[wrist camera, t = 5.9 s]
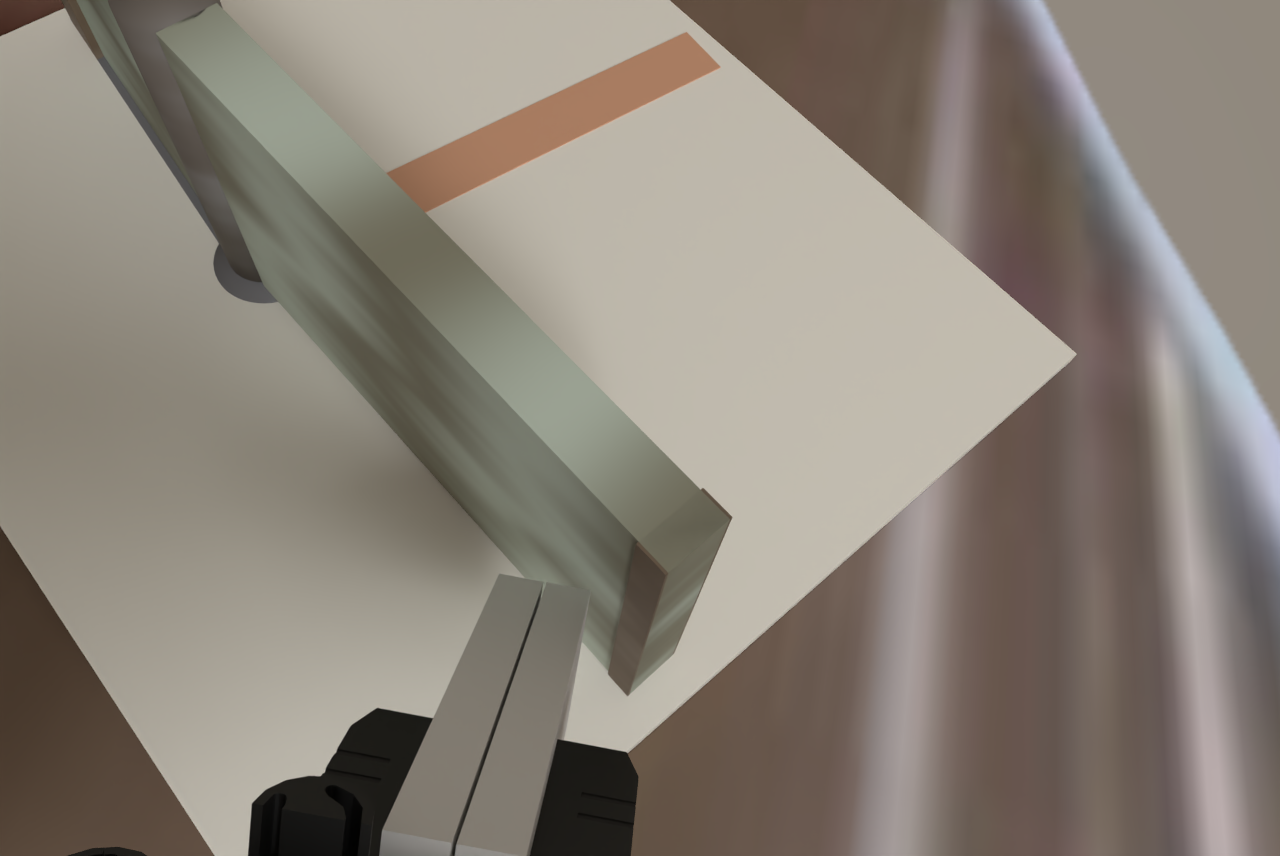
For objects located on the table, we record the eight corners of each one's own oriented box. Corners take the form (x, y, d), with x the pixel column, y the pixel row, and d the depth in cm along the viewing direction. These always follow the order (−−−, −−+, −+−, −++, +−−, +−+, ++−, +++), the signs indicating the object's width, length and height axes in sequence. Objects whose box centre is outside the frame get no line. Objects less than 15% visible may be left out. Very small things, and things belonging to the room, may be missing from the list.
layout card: (-237, 156, 26) (-250, 144, 25) (472, -160, 34) (471, -173, 33) (326, 1019, 18) (321, 1020, 18) (1069, 362, 26) (1077, 352, 26)
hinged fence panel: (212, 247, 25) (87, -15, 18) (276, 209, 26) (179, -57, 19) (618, 704, 21) (652, 587, 14) (682, 645, 21) (744, 506, 15)
